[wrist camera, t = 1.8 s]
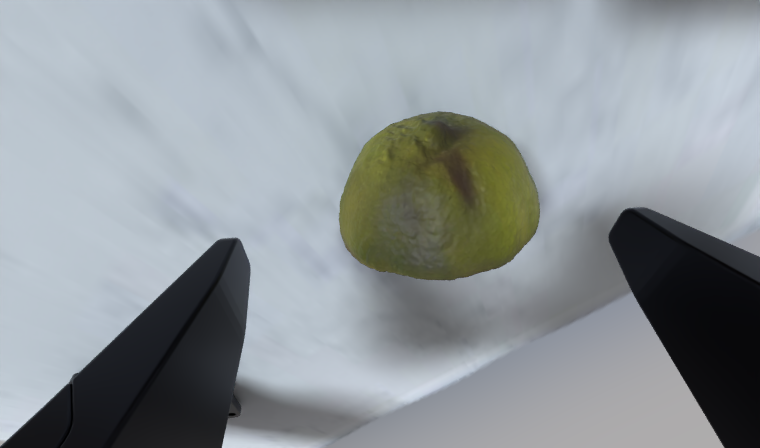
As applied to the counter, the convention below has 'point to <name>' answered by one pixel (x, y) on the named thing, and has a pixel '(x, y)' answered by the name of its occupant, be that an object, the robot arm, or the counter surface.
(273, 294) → the counter surface
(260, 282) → the counter surface
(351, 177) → the lime
